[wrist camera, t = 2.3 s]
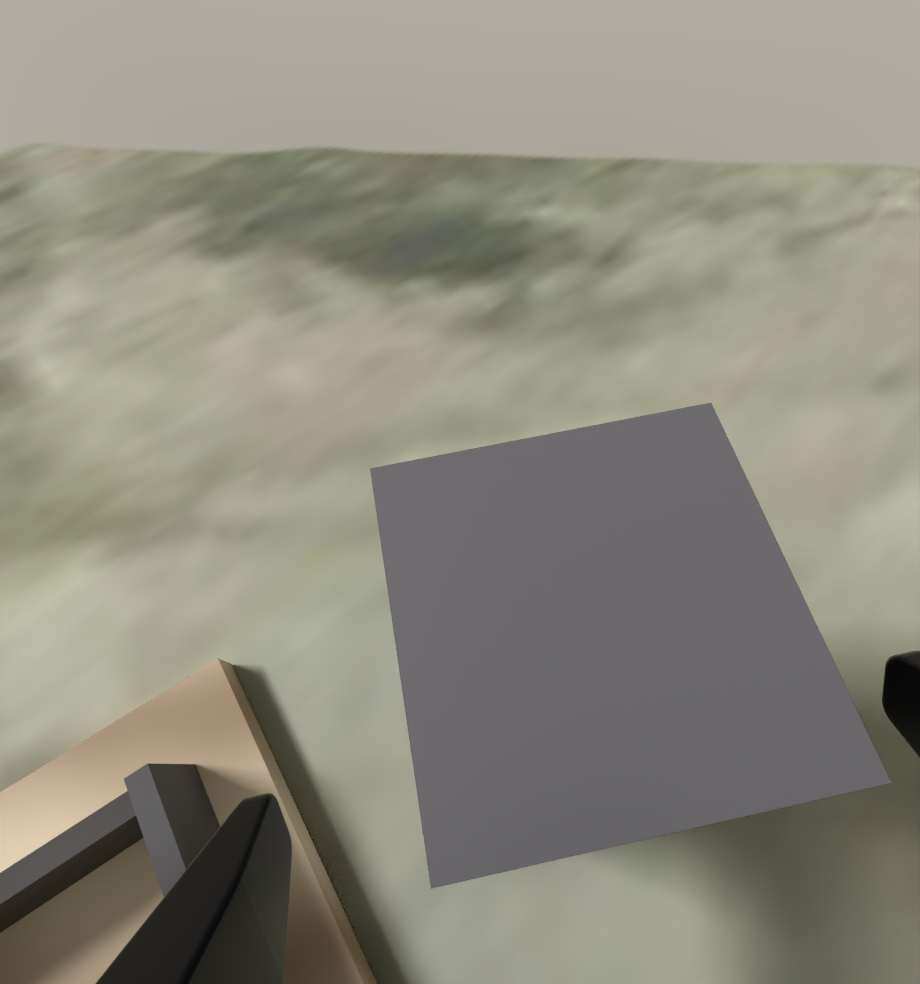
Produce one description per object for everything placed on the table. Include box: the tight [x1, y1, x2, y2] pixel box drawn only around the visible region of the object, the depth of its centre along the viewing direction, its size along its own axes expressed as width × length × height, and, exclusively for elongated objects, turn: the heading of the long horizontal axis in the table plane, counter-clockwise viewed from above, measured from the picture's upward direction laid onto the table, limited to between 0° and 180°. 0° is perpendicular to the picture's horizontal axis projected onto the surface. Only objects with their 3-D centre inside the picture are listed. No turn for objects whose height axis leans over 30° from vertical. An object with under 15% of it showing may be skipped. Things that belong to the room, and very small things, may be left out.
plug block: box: [370, 403, 891, 888], centre depth 12 cm, size 4×4×12 cm
